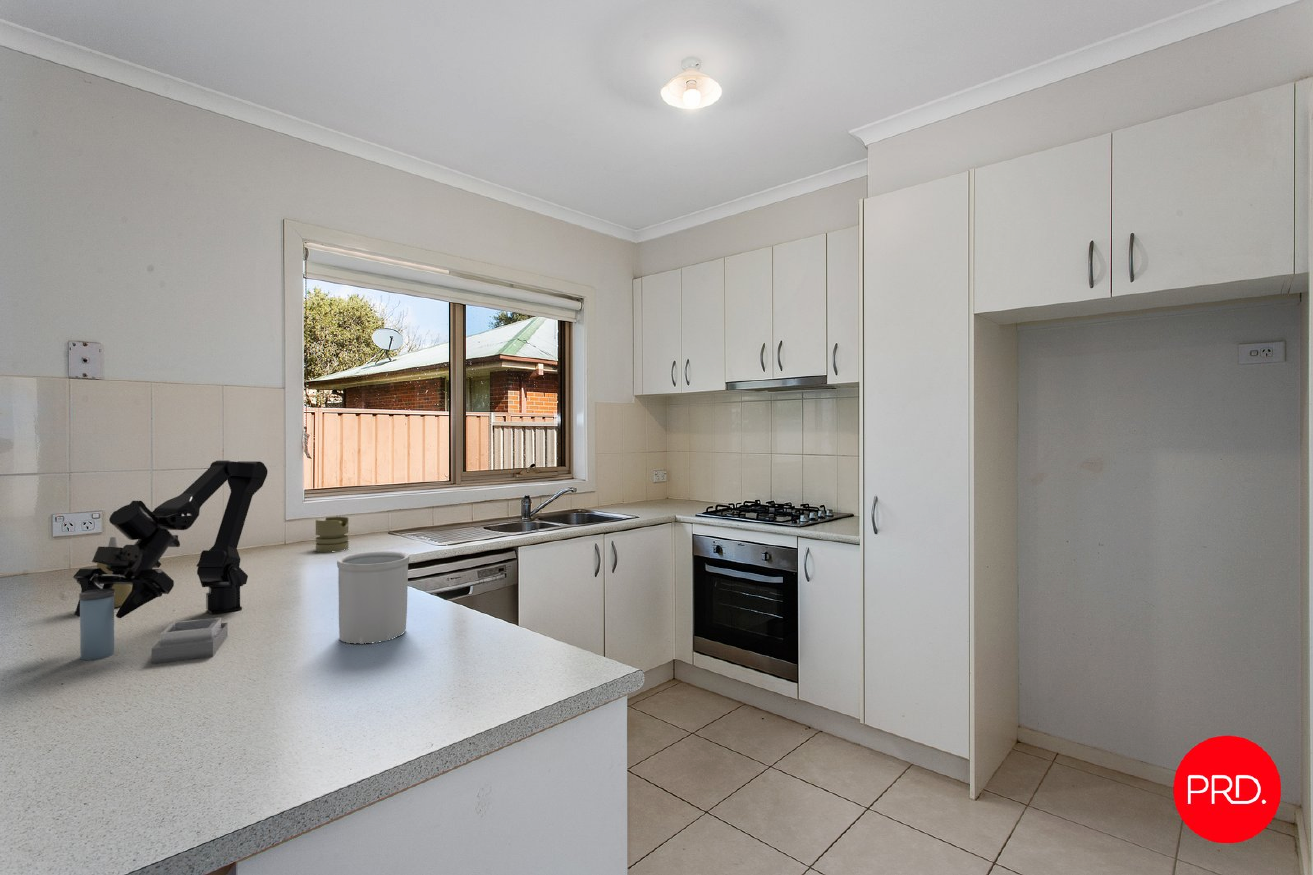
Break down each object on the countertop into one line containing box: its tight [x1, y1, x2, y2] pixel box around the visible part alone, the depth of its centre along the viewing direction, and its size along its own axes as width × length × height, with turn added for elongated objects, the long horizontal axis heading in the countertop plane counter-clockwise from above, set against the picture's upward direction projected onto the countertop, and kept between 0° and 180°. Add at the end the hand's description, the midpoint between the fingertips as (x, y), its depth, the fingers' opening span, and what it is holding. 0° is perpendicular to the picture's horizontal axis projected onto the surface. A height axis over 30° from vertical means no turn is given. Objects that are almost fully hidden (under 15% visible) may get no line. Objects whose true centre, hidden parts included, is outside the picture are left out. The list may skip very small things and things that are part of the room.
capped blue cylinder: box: [78, 588, 115, 661], centre depth 128 cm, size 5×5×13 cm
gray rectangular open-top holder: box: [151, 617, 229, 665], centre depth 132 cm, size 14×10×5 cm
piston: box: [315, 516, 350, 553], centre depth 244 cm, size 11×12×11 cm
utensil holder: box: [336, 550, 410, 645], centre depth 141 cm, size 15×15×18 cm
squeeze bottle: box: [96, 536, 132, 608], centre depth 165 cm, size 8×8×18 cm
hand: (97, 616), depth 128 cm, fingers open, 9 cm apart
